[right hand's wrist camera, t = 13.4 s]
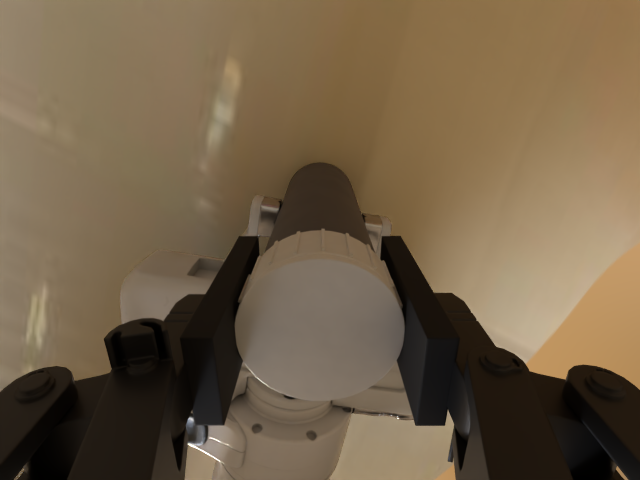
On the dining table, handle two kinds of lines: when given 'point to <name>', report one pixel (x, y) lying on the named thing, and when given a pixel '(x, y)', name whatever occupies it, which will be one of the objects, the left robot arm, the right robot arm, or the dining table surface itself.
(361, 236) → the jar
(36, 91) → the dining table surface
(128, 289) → the left robot arm
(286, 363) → the lid
